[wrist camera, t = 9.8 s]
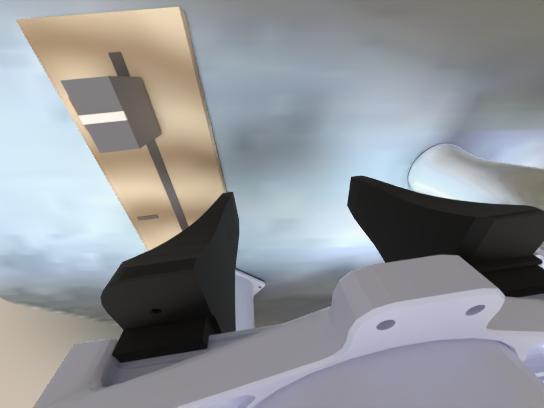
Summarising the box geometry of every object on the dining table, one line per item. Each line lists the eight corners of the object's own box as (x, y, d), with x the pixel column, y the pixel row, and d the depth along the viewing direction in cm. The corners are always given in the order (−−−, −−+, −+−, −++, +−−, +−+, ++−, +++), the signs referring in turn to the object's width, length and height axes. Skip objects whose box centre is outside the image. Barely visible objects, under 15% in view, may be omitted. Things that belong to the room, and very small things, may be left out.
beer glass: (442, 126, 21) (754, 197, 8) (475, 158, 23) (751, 252, 11) (391, 179, 24) (563, 296, 11) (425, 203, 26) (597, 321, 13)
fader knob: (161, 134, 16) (139, 148, 13) (129, 138, 16) (99, 153, 13) (140, 76, 14) (107, 75, 11) (103, 80, 14) (58, 80, 11)
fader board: (235, 230, 25) (234, 239, 23) (153, 242, 24) (147, 251, 23) (184, 13, 14) (178, 6, 13) (36, 25, 14) (13, 19, 12)
